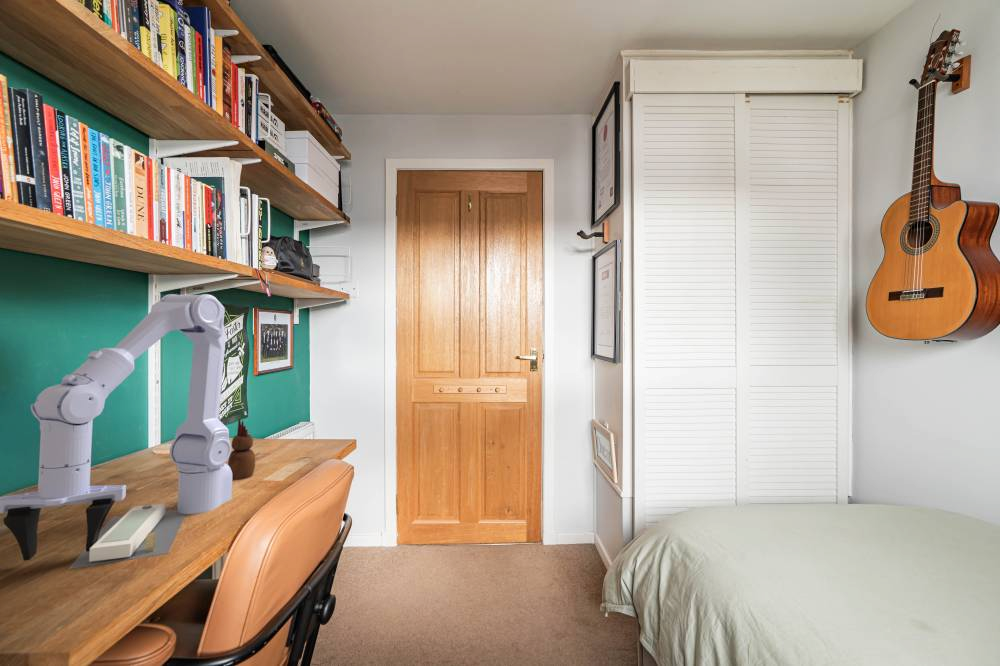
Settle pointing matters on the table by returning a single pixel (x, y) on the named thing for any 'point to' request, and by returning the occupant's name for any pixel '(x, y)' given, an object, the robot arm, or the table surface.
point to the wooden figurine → (242, 454)
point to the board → (150, 546)
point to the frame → (127, 533)
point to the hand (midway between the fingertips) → (61, 552)
